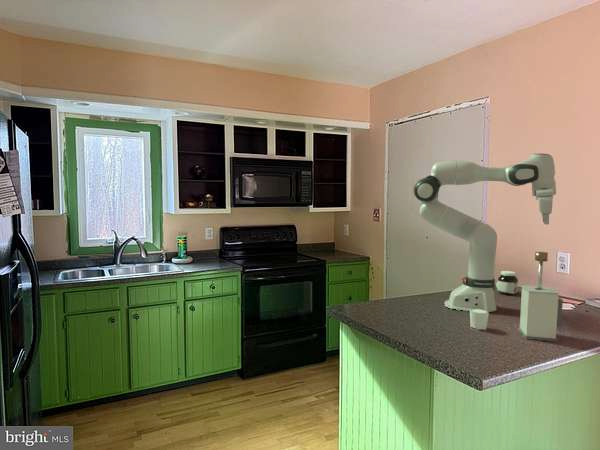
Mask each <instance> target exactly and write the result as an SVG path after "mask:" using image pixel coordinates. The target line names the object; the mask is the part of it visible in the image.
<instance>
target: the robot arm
mask: <svg viewBox="0 0 600 450" xmlns="http://www.w3.org/2000/svg"><path fill="white" fill-rule="evenodd" d="M555 175H556V167H555V161H554V158H553V156H552V155H551V154H548V153H534V154H532V155H531V156H529V157H528V158H526V159H525V160H522V161H520V162H519V163H516V164H512V165H510V166H507V167H495V166H494V167H493V166H489V167H488V166H482V165H480V164H477V163H474V162H472V161H467V160H445V161H444V160H443V161H438V162H435V163H434V164H433V165H432V167H431V170H430V175H427V176H425V177H423V178H421V179H419V180H418V181H417V182H415V185H414V187H413V195H414V197H415V198H416V199H417V200H418V201H420V202H421V205H420V207H419V211H418V212H419V216H420V217H421V218H422V219H423V220H424V221H426V222H427V223H429V224H431V225H432V226H433V227H436V228H437V229H440V230H441V231H444V232H446V233H448V234H449V235H452V236H454V237H457V238H460V239H462V240H463V241H466V242H468V243H469V249H468V250H469V251H468V252H469V253H468V264H467V265H468V268H467V276H464V275H462V276H461V277H460V278H461V280H462V284H461V285H459V286H458V287H456V288H455V289H453V290H452V291H451V293H450V295H449V299H446V300H445V301H444V304H445V305H444V307H445V306H446V307H448V308H450V309H449V310H452V309H456V310H455V311H460V310H463V311H462V312H468V311H469V313H470V309H482V310H486V311H488V312H489V313H490V312H491V313H492V312H495V311H497V309H498V308H497V305H496V299H495V289H496V279H495V265H496V264H495V262H496V256H497V255H496V254H497V248H498V247H497V246H498V233H497V231H496V230H495V229H494V227H492V226H491V225H489V224H487V223H485V222H484V221H481V220H480V219H476V218H475V217H472V216H470V215H467V214H465V213H463V212H461V211H459V210H457V209H455V208H454V207H451V206H449V205H447V204H444V203H442V202H441V201H440V200H439V193H440V188H441V187H442V186H447V185H452V186H463V185H464V186H465V185H471V184H474V183H478V182H504V183H507V184H508V185H511V186H514V187H521V186H524V185H527V184H531V190H532V191H531V192H532V193H531V194H532V197H535V200H536V201H537V200H538V209H539V212H540V213H541V216H542V222H543V224H544V225H545V226H547V225H550V215H551V214H552V213H553V203H554V202H553V201H554V200H553V199H554V196H555V195H556V194H557V183H556V179H555ZM446 307H445V308H446ZM448 308H447V309H448Z"/></svg>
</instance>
